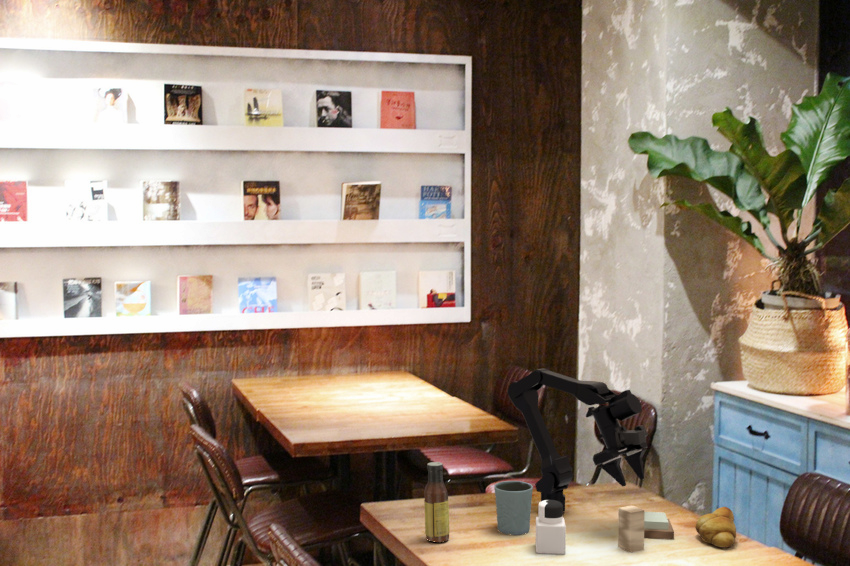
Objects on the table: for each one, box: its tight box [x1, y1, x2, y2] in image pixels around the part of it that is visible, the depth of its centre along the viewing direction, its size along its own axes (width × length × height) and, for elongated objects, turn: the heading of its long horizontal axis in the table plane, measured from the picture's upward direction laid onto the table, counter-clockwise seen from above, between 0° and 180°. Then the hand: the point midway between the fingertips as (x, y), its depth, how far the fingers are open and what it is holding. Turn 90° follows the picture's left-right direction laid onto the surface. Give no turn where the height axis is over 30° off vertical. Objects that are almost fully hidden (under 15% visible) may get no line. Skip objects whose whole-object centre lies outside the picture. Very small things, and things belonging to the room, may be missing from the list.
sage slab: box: [644, 511, 669, 530], centre depth 232 cm, size 8×8×2 cm
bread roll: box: [695, 506, 737, 548], centre depth 225 cm, size 13×10×8 cm
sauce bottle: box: [423, 461, 450, 543], centre depth 225 cm, size 7×6×20 cm
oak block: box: [617, 505, 646, 553], centre depth 219 cm, size 4×4×10 cm
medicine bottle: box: [535, 500, 567, 555], centre depth 218 cm, size 7×7×12 cm
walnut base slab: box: [644, 518, 675, 540], centre depth 232 cm, size 11×11×2 cm
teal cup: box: [493, 480, 534, 536], centre depth 233 cm, size 10×10×12 cm
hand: (633, 482), depth 231 cm, fingers open, 9 cm apart
